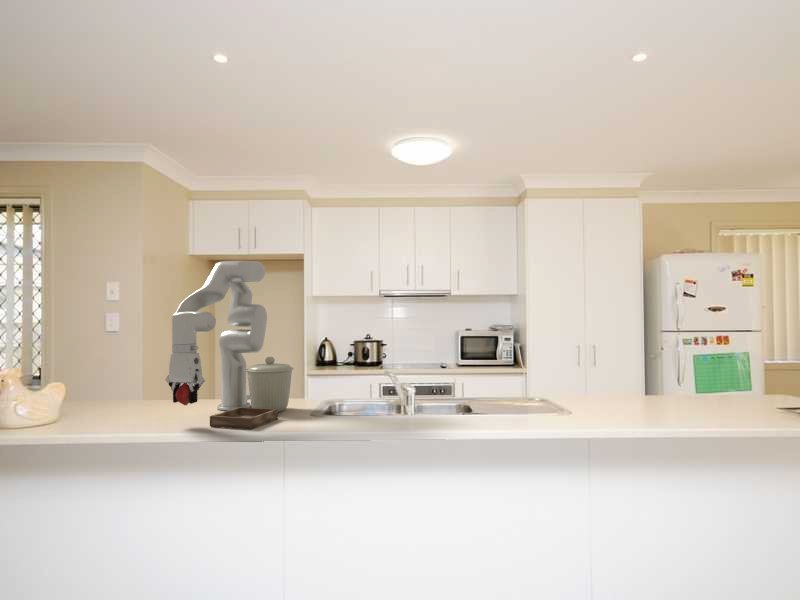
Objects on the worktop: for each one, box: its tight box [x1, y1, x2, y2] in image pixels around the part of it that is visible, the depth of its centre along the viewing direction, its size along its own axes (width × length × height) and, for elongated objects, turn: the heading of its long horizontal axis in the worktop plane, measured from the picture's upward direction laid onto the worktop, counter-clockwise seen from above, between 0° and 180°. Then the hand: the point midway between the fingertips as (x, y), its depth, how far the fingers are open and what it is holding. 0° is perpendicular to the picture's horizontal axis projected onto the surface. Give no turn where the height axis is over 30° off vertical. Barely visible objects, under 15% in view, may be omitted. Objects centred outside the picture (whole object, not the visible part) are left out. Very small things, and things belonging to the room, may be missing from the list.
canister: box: [246, 356, 295, 413], centre depth 179 cm, size 18×18×21 cm
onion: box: [175, 383, 191, 406], centre depth 155 cm, size 6×6×8 cm
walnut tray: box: [209, 407, 279, 430], centre depth 159 cm, size 16×16×4 cm
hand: (185, 401), depth 155 cm, fingers closed on onion, 5 cm apart
